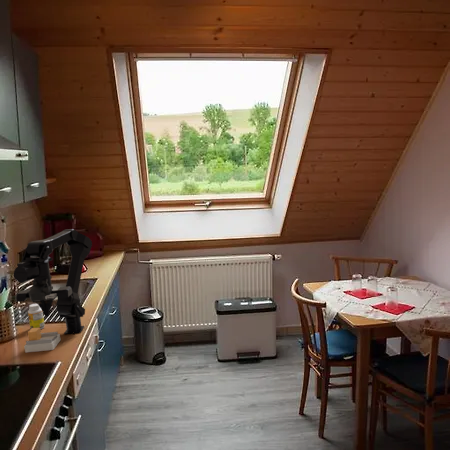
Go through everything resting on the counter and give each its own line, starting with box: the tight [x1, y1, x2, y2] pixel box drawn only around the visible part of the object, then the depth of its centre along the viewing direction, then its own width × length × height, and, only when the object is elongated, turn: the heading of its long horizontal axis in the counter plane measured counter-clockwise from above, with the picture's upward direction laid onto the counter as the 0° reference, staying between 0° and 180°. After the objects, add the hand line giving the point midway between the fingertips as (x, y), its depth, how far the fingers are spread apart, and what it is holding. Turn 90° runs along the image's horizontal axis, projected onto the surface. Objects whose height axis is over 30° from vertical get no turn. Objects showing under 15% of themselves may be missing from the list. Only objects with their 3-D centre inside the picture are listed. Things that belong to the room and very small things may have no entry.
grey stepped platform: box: [24, 331, 62, 353], centre depth 164 cm, size 9×10×4 cm
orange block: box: [27, 328, 42, 341], centre depth 164 cm, size 4×3×4 cm
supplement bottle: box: [27, 303, 46, 330], centre depth 183 cm, size 6×6×10 cm
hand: (47, 316), depth 163 cm, fingers closed
